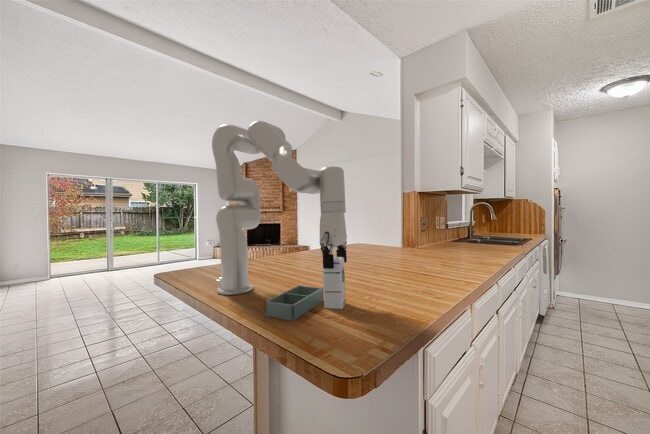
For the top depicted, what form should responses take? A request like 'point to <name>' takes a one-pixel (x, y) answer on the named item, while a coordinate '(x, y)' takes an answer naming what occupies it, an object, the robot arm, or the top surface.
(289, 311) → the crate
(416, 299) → the top surface
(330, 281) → the syrup box
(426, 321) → the top surface
